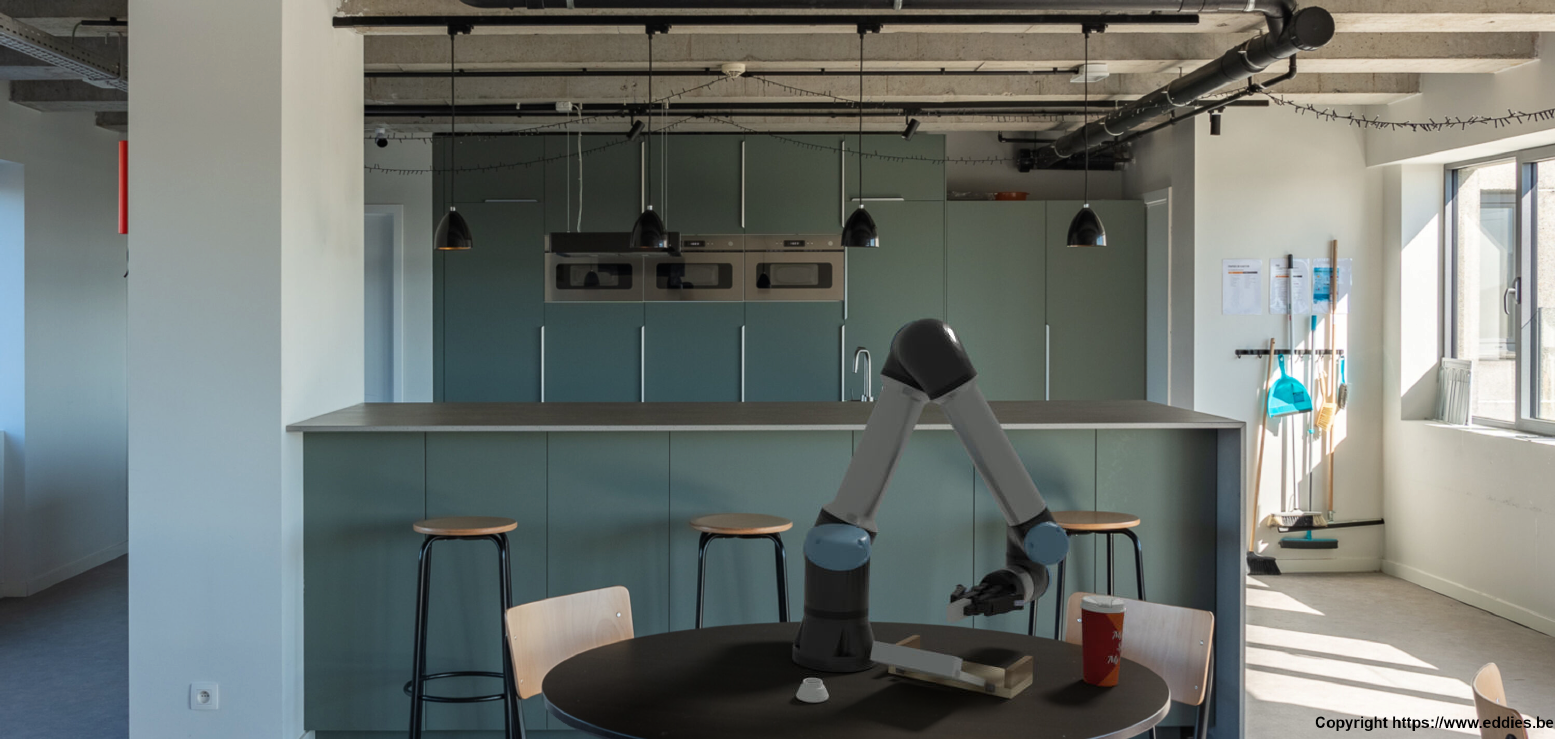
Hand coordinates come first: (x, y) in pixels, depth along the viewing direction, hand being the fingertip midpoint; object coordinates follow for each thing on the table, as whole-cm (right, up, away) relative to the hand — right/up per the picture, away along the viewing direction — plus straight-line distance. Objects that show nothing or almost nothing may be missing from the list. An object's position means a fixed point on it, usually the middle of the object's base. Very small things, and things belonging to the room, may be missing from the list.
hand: (950, 614), depth 170 cm
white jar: (-23, -12, -6) cm, 27 cm away
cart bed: (+2, -13, +6) cm, 14 cm away
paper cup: (+27, -13, +7) cm, 31 cm away
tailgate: (-1, -10, +2) cm, 10 cm away
